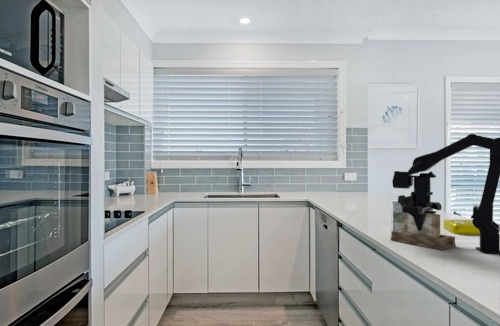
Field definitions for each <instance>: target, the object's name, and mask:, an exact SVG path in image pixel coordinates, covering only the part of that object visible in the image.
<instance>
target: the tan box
mask: <svg viewBox="0 0 500 326" xmlns="http://www.w3.org/2000/svg"><path fill="white" fill-rule="evenodd" d="M404 233H410V234H415V235H421V236H427V237H433V238H440V234H441V214H439V213H438V214H437V213H435V214H431V213H426V217H425V220H424V223H423V227H422V229H421V231H418V229H417V227H416V224H415V221H414V218H413V216H412V215H410V214H408V213H404Z"/></svg>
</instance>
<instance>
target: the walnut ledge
mask: <svg viewBox="0 0 500 326" xmlns="http://www.w3.org/2000/svg"><path fill="white" fill-rule="evenodd" d="M390 232H391V236H390V241H394V242H398V243H404V244H409V245H414V246H418V247H419V246H420V247H424V248H427V249H433V250H439V251H445V250H448V249H452V248H454V247H456V246H457V245H456V236H454V235H453V236H452V235H447V234H446V235H445V234H441V233H440V238H433V237H427V236H421V235H415V234H410V233H404V229H402V230H400V231H390Z"/></svg>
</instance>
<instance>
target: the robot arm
mask: <svg viewBox="0 0 500 326" xmlns="http://www.w3.org/2000/svg"><path fill="white" fill-rule="evenodd" d="M473 146H474V147H475V146H476V147H480V148H483V149H488V150H489V166H488V170H487V174H486V177H485V182H484V186H483V191H482V195H481V199H480V203H479V205H476V204H474V206H473V207H472V214H471V216H470V220H472V222H473V225H474V226H475V227H476V228H477V229H479V231H480V235H479V246H478V247H475V250H477V251H479V252H481V253H484V254H500V234H499V233H500V225H499V224H498V223H496V221H494V201H495V197H496V193H497V189H498V184H499V180H500V137H496V138H491V137H487V136H481V135H477V134H475V133H470V134H467V135H466V136H465V137H463V138H460V139H459V140H457V141H455V142H452V143H451V144H449V145H446V146H445V147H442V148H441V149H438V150H436V151H434V152H429V153H427V154H423V155H420V156H417V157H415V158H414V159H413V160H412V166H411V167H410V168H409V169H408V171H399V170H395V171H393V172H394V173H393V177H392V180H391V181H392V187H393V189H406V190H407V189H410V188H411V187H413V191H411V192H410V195H408V196H405V194H402V195H398V197H397V200H398V203H399V204H401V207H402V212H404V213H408V214H410V215H412V216H413V218H414V221H415V224H416V227H417V229H418V231H421V229H422V227H423V223H424V220H425V217H426V213H431V214H437V211H442V204H441V203H440V202H438V201H431V195H432V196H433V194H434V192H433V191H431V179H432V178H433V179H434V178H437V175H436V174H435V173H434V172H433V171H432V170H431V171H429V170H430V169H432V168H433V167H435V166H436V165H437V164H438V163H440V162H441V161H443V160H445V159H448V158H450V157H451V156H454V155H455V154H458V153H460V152H462V151H464V150H466V149H469V148H470V147H473ZM427 171H429V172H427ZM418 173H419V174H418ZM416 174H418V175H416ZM435 210H436V211H435Z"/></svg>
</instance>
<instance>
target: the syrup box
mask: <svg viewBox="0 0 500 326" xmlns="http://www.w3.org/2000/svg"><path fill="white" fill-rule="evenodd" d="M390 212H391V213H390V214H391V219H390V220H391V222H390V225H391V226H390V230H391V231H400V230H402V229H404V212H402V207H401V204H399V203H398V199H391V211H390ZM391 231H390V232H391Z"/></svg>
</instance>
